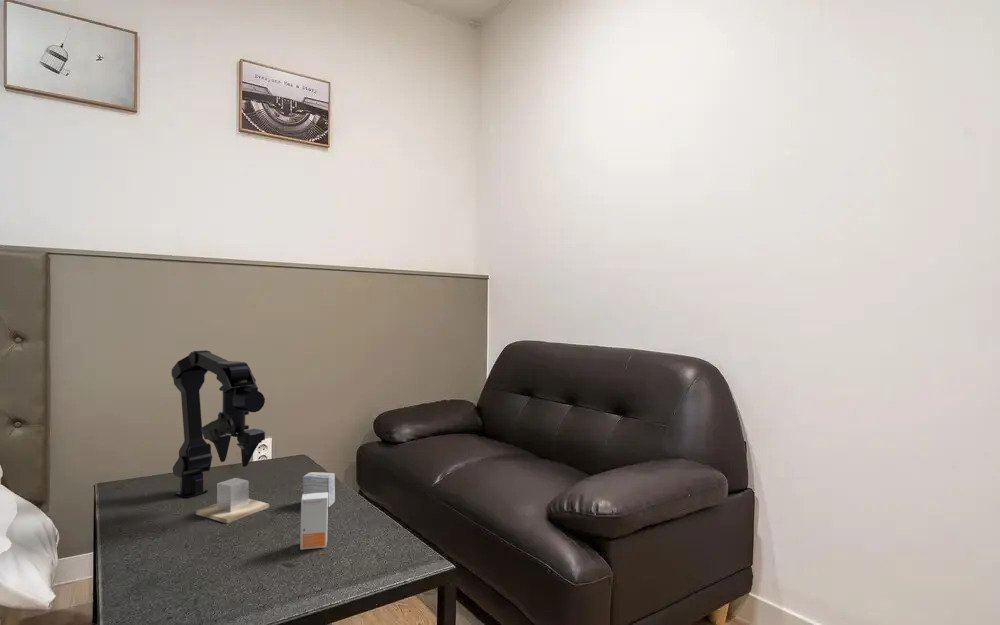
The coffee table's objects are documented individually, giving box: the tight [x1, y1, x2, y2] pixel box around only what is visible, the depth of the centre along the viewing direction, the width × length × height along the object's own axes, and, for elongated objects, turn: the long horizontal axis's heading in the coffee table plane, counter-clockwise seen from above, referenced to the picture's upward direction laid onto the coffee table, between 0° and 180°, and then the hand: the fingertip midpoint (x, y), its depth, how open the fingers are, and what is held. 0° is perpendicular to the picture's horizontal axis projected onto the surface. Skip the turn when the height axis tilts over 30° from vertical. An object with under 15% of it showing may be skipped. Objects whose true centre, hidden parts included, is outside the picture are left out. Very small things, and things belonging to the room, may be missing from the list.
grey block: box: [216, 477, 250, 512], centre depth 150 cm, size 6×6×7 cm
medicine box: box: [302, 471, 336, 508], centre depth 156 cm, size 8×4×9 cm, turn 84°
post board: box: [195, 498, 270, 524], centre depth 150 cm, size 13×13×5 cm
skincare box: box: [299, 492, 329, 551], centre depth 129 cm, size 6×4×12 cm
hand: (233, 464), depth 150 cm, fingers open, 9 cm apart
